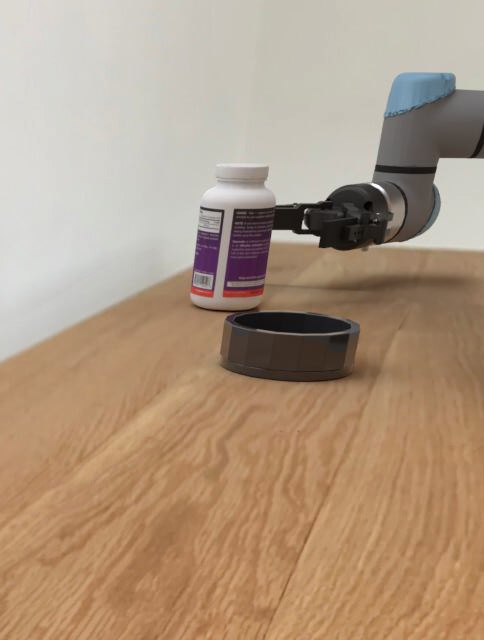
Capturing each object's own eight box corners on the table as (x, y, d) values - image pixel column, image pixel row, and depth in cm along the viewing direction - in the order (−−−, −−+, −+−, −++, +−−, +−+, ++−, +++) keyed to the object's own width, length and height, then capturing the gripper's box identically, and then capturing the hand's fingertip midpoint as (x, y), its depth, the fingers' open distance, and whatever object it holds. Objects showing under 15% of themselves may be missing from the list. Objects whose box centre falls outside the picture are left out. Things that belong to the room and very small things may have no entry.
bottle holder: (351, 357, 104) (360, 315, 102) (351, 385, 94) (361, 339, 92) (225, 348, 107) (231, 306, 105) (213, 375, 97) (219, 329, 95)
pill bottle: (266, 303, 128) (288, 163, 121) (253, 315, 122) (275, 168, 114) (197, 298, 131) (214, 161, 123) (180, 309, 125) (197, 165, 117)
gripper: (449, 259, 134) (364, 277, 121) (268, 238, 149) (175, 253, 136) (465, 190, 130) (379, 201, 117) (277, 176, 145) (183, 185, 133)
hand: (269, 229), depth 127 cm, fingers open, 13 cm apart
